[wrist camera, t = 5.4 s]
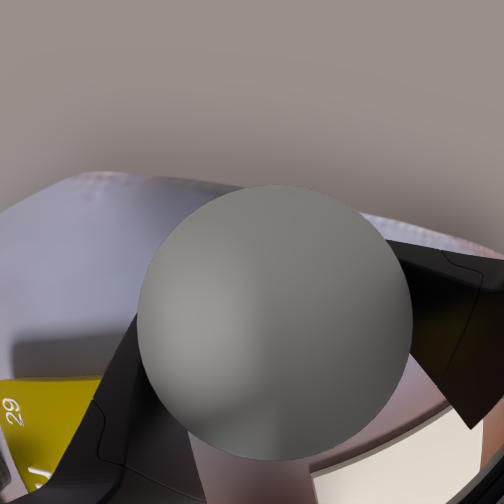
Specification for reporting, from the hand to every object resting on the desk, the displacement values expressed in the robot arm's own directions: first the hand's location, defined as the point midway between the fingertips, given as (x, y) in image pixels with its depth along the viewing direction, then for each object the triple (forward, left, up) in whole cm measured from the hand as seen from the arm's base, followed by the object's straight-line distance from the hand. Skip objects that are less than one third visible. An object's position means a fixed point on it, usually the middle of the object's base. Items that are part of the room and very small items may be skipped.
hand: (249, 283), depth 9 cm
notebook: (-19, -16, -13) cm, 29 cm away
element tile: (-13, +13, -14) cm, 23 cm away
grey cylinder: (-1, 0, -7) cm, 7 cm away
